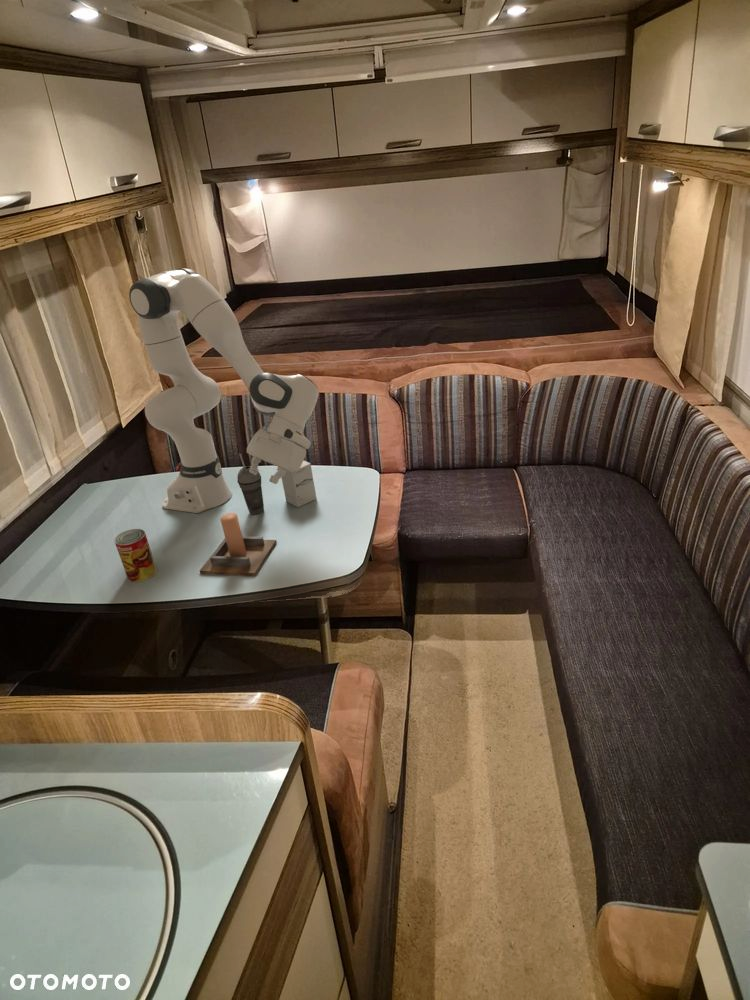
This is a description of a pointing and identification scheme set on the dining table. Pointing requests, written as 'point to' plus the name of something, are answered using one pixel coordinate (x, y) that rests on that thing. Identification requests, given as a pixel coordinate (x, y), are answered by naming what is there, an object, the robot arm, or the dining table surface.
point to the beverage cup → (251, 489)
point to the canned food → (136, 555)
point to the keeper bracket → (239, 558)
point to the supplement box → (299, 485)
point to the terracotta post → (233, 535)
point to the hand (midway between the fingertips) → (262, 478)
